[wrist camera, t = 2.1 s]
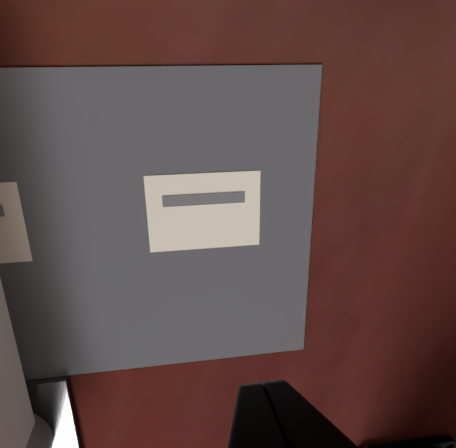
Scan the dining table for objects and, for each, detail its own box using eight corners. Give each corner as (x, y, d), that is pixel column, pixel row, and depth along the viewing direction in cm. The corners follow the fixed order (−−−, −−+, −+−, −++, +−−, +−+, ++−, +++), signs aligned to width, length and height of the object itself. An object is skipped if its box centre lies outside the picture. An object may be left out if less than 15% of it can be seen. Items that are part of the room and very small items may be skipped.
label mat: (320, 64, 16) (322, 64, 16) (302, 346, 21) (303, 349, 21) (-240, 70, 14) (-247, 69, 13) (-112, 392, 18) (-115, 396, 18)
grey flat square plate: (67, 375, 19) (65, 381, 19) (84, 463, 21) (82, 470, 21) (-67, 390, 19) (-72, 396, 18) (-35, 480, 21) (-39, 488, 20)
